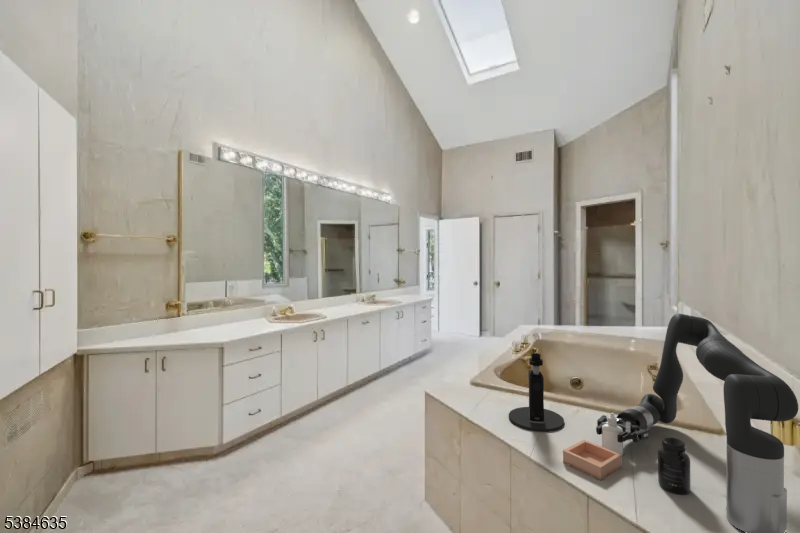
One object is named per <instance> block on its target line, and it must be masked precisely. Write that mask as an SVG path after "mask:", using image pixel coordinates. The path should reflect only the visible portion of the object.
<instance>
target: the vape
mask: <svg viewBox="0 0 800 533" xmlns="http://www.w3.org/2000/svg"><path fill="white" fill-rule="evenodd" d="M530 356H531V357H530V358H529V359H528V360H529V362H528V364H529V365H530V366H532V369H529V370H528V406H522V407H516V408H513V409H512V410H510V412H508V419H509V422H510V423H512V424H513V425H514V426H516V427H519V428H520V429H522V430H523V429H524V430H527V431H533V432H538V433H539V432H540V433H547V432H548V433H549V432H550V431H551V432H555V431H556V432H557V431H559V430H561V429H562V428H564V426H565V419H564V418H563V416H562V415H560V414H559V413H558V412H555V411H553V410H550V409H547V408H544V407H545V406H544V405H545V403H544V401H545V400H544V396H545V395H544V393H545V392H544V389H545V388H544V387H545V386H544V385H545V384H544V383H545V382H544V378H545V377H544V375H543V374H542V371H540V367H541V366H543V363H544V362H543V359H542V358H541V357H542V356H541V353H537V352H534V353H530Z"/></svg>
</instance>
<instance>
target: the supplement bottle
mask: <svg viewBox="0 0 800 533" xmlns="http://www.w3.org/2000/svg"><path fill="white" fill-rule="evenodd" d="M686 450H687V449H686V443H685V442H684V441H683V440H681V439H678V438H675V437H671V436H669V437H667V436H666V437H663V438H662V439H661V447H660V448H659V449H658V451H657V478H658V479H657V480H658V484H659V486H660V487H661V488H662V489H664V490H666V491H667V492H670V493H671V494H676V495H687V494H689V493H690V492H691V489H692V488H691V486H692V485H691V481H692V480H691V458H690V456H689V455H688V453H687V452H686Z"/></svg>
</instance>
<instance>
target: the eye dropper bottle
mask: <svg viewBox="0 0 800 533" xmlns="http://www.w3.org/2000/svg"><path fill="white" fill-rule="evenodd" d="M616 417H617V416H616ZM616 417H615V413H614V412H610V415H609V416H608V415H607V419H608V424H604V425H603V426H602V434H601V447H604V448H606V449H609V450H611V451H614V452H616V453H619V454H621V456H623V455H624V442H621V443H620V442H618V440H617V436H618V434H620V433H622V432H623V429H622V428H621V427H620V426H617V418H616Z"/></svg>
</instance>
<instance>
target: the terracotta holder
mask: <svg viewBox="0 0 800 533" xmlns="http://www.w3.org/2000/svg"><path fill="white" fill-rule="evenodd" d="M563 462H564V464H566V465H568V466H570V467H572V468H574V469H576V470H578V471H580V472H582V473H585V474H586V475H589V476H591V477H593V478H594V479H598V480H600V481H602V480H604V479H605V478H607V477H608V476H609V475H611V474H613V473H614V472H616V471H617V470H619V469H620V468H621V467H622V455H621V454H619V453H616V452H614V451H611V450H609V449H606V448H604V447H602V445H599V444H596V443H593V442H592V441H589V440H586V439H582V440H581V441H579V442H576V443H574V444H573V445H571V446H569V447H567V448H565V449H563V450H562V463H563Z"/></svg>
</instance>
